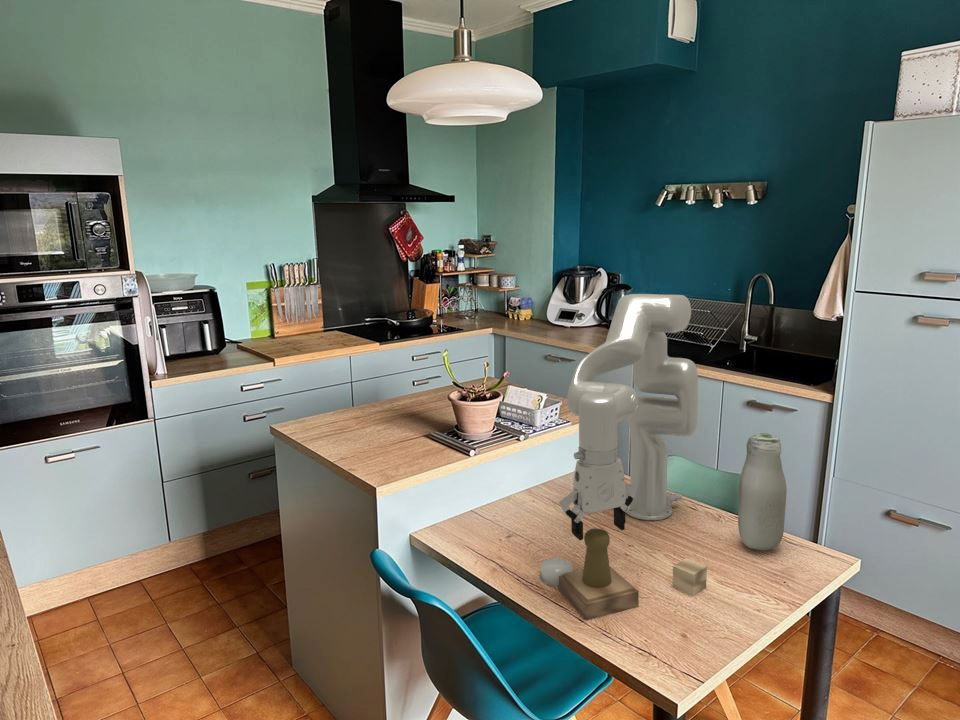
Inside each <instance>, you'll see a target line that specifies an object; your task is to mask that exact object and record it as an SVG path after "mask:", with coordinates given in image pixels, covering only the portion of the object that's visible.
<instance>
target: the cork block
mask: <svg viewBox="0 0 960 720" xmlns="http://www.w3.org/2000/svg"><path fill="white" fill-rule="evenodd" d="M707 574H708V566H707V565H705V564H702V563H700V562H697V561H694V560H692V559H690V558H687V557H686V558H684V559H682V560H681V561H679V562H677V563H675V564H673V566H672V584H671V585H672V588H674V589H676V590H679V591H681V592H683V593H685V594H687V595H689V596H691V597H694V596H696V595H697V594H698V593H700V592H701V591H703V590H704V589H706V588H707V578H708V577H707Z"/></svg>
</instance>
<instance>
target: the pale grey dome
mask: <svg viewBox="0 0 960 720" xmlns="http://www.w3.org/2000/svg"><path fill="white" fill-rule="evenodd" d="M570 572H573V564H572V562H570V561H569V560H567V559H564V558H559V557H557V558H555V557H554V558H548V559H545V560H544V561H542V562H541V563H540V580H541V579H542V580H541V581H542V582H543V583H544V584H546V585H549V586H553V587H559V576H561V575H563V574H565V573H570Z"/></svg>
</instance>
